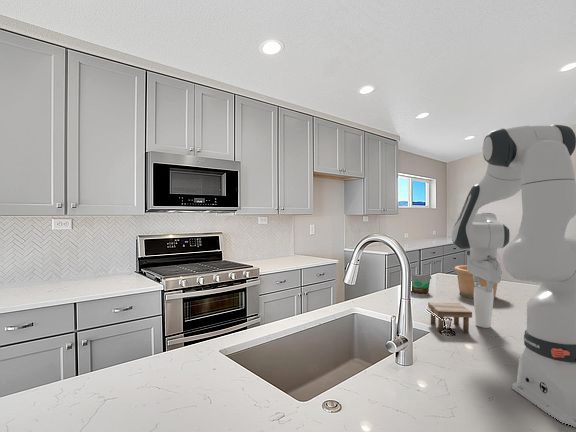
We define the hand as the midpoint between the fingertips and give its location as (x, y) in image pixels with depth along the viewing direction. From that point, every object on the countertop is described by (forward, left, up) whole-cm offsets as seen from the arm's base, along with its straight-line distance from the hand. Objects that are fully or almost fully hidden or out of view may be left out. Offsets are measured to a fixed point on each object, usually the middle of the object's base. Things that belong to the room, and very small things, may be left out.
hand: (482, 288), depth 132 cm
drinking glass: (0, 0, -15) cm, 15 cm away
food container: (+51, +10, -15) cm, 54 cm away
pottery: (+49, -19, -15) cm, 54 cm away
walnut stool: (-3, +14, -15) cm, 20 cm away
